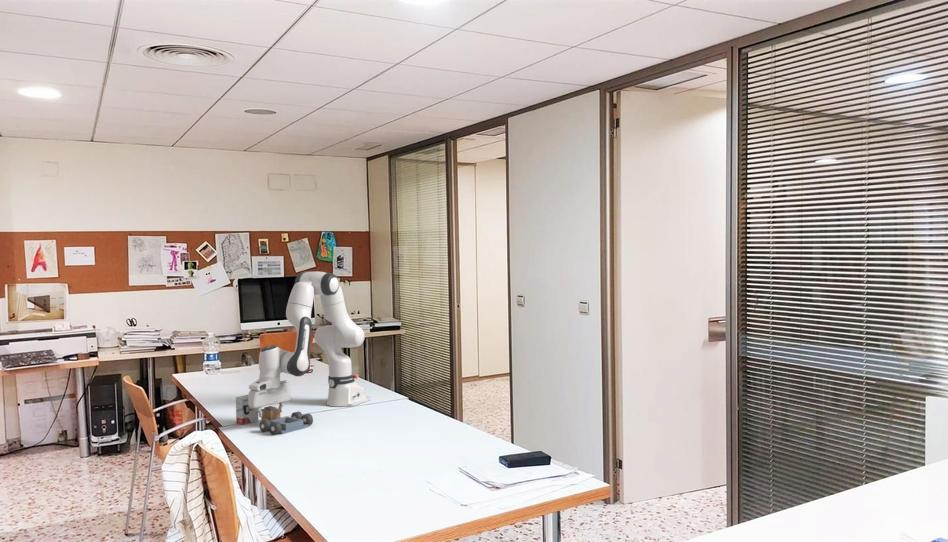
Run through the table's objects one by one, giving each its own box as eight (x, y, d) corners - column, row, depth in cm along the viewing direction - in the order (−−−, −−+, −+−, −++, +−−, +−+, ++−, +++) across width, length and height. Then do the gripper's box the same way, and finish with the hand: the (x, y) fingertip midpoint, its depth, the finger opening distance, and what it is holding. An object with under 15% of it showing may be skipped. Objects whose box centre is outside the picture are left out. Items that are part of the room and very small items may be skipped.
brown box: (270, 422, 302) (270, 405, 302) (280, 424, 298) (280, 407, 297) (261, 425, 298) (260, 407, 298) (271, 427, 294) (270, 409, 293)
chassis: (296, 421, 302) (295, 410, 302) (313, 425, 295) (313, 414, 295) (258, 431, 287) (258, 419, 287) (276, 435, 280) (276, 423, 280)
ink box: (242, 425, 298) (241, 398, 298) (235, 423, 301) (235, 397, 301) (259, 421, 305) (258, 395, 305) (252, 419, 308) (251, 393, 308)
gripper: (284, 378, 307) (285, 409, 307) (245, 386, 291) (246, 418, 291) (293, 380, 303) (294, 410, 304) (254, 387, 287) (255, 420, 287)
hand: (270, 414), depth 297 cm, fingers open, 8 cm apart
